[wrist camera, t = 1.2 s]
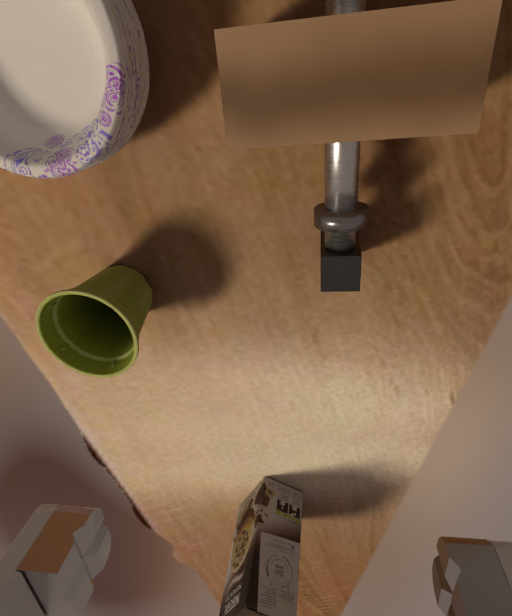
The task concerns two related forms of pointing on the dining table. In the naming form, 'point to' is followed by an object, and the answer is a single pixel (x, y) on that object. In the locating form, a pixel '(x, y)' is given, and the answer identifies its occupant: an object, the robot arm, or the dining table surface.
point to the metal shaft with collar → (341, 200)
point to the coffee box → (265, 553)
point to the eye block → (357, 75)
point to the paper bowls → (69, 83)
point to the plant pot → (97, 322)
